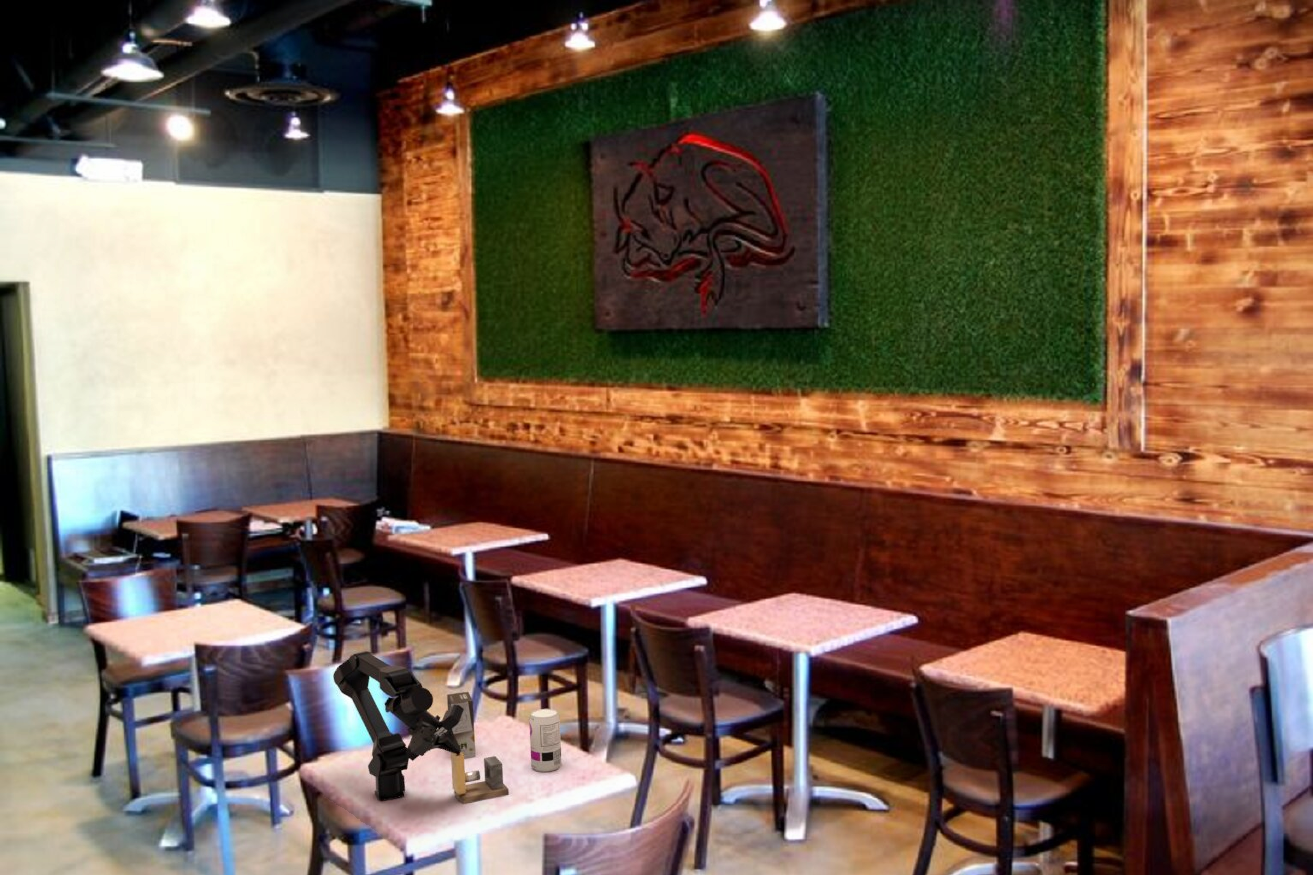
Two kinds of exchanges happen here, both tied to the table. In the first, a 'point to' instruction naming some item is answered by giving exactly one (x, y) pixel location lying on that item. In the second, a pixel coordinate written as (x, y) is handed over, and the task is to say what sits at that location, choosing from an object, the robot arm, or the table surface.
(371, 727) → the robot arm
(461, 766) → the tan wooden tall block
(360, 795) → the table surface
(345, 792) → the table surface
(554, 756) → the supplement can
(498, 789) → the peg insertion fixture
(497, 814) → the table surface
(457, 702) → the coffee box
